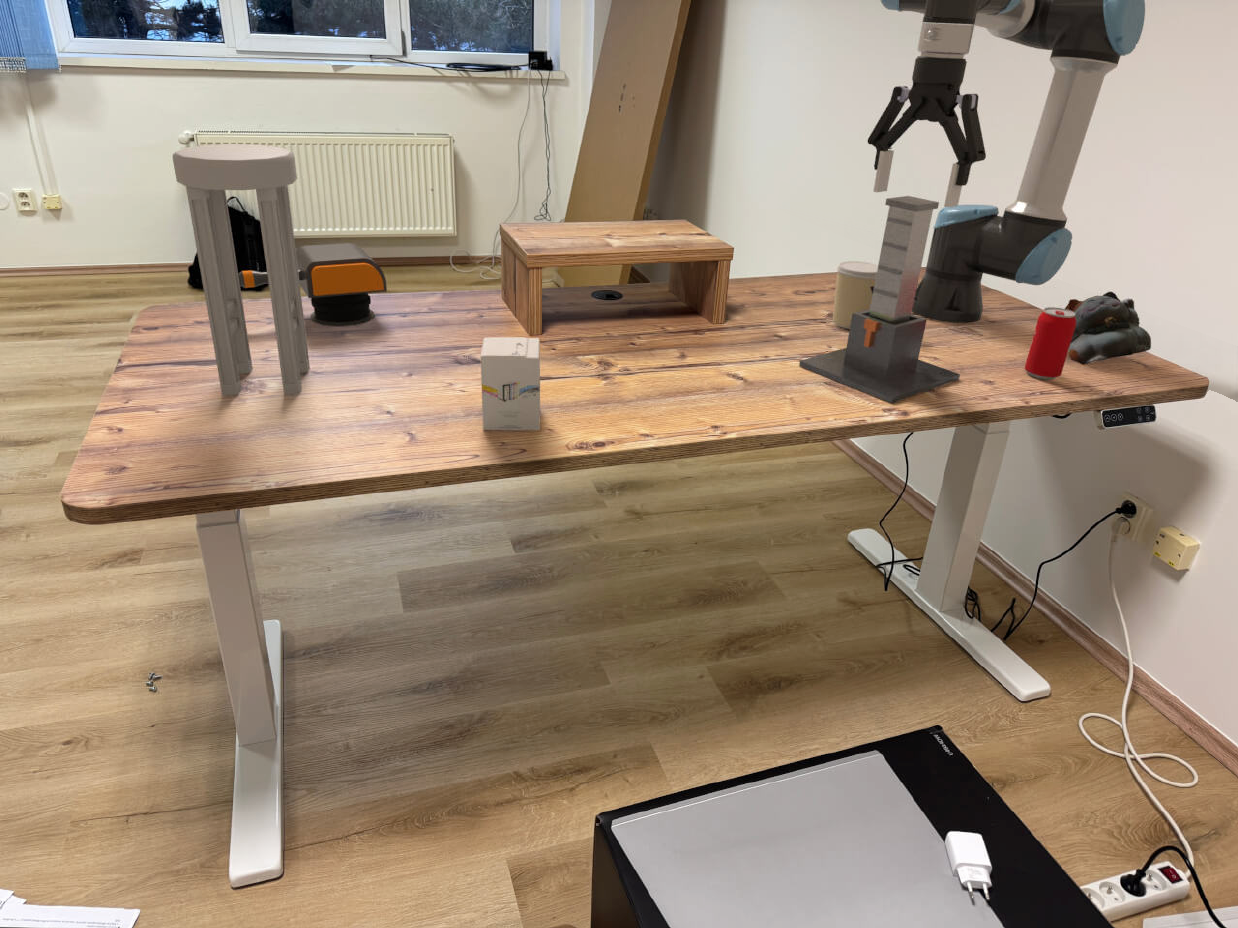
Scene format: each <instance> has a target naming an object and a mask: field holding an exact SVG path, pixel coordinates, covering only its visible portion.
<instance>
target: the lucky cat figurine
mask: <svg viewBox="0 0 1238 928" xmlns="http://www.w3.org/2000/svg"><path fill="white" fill-rule="evenodd" d="M1064 309H1067V310H1070V311H1073V312H1074V313H1075V319H1076V326H1075V330H1074V333H1073V336H1072V340H1071V343H1070V346H1069V350H1068V353H1067V355H1068V356H1069V359H1070V360H1071V361H1072V362H1075V363H1078V364H1081V365H1083V366H1085V365H1087V364H1091V363H1095V362H1101V361H1105V360H1108V359H1115V358H1121V357H1126V356H1132V355H1134V354H1139V353H1140V354H1141V353H1143V352H1148V351H1149V350H1151V348H1152V339H1151V336H1150V333H1149V332H1148V331H1147V330H1146V329H1144V328H1143V327H1141V326H1140V317H1139V315H1138V313H1137V311H1136V309H1135V301H1134V300H1133V299H1132V298H1129V297H1128V298H1126V299H1123V300H1121V299H1119V297H1118V296H1117V294H1116V293H1115V292H1113V291H1107V292H1106V293H1103V294H1102V295H1095V296H1091V297H1087V298H1086V299H1084V300H1083V301H1082V300H1078V299H1076V298H1074V299H1073V298H1072V299H1071V298H1070V299H1069V300H1068V303H1067V305H1066V306H1065V307H1064Z"/></svg>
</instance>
